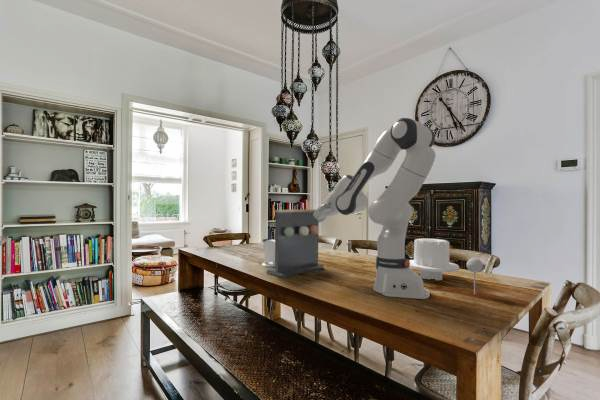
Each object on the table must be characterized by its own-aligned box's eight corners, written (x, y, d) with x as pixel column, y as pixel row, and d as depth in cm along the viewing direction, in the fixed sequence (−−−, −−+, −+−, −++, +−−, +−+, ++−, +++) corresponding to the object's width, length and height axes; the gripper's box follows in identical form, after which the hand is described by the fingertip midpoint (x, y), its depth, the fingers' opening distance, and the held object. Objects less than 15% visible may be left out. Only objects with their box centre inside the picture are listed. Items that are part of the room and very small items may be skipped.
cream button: (308, 235, 164) (308, 226, 164) (302, 235, 161) (302, 226, 161) (304, 234, 166) (304, 226, 166) (298, 235, 163) (298, 226, 163)
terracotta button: (318, 233, 172) (318, 225, 172) (313, 234, 169) (313, 225, 169) (314, 233, 174) (314, 225, 174) (309, 234, 171) (309, 225, 171)
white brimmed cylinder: (408, 270, 171) (408, 236, 171) (458, 275, 160) (458, 239, 161) (402, 280, 149) (402, 241, 149) (460, 286, 138) (460, 244, 138)
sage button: (294, 236, 158) (294, 227, 158) (287, 237, 154) (287, 227, 154) (289, 235, 160) (290, 226, 160) (283, 236, 156) (283, 227, 156)
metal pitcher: (285, 264, 184) (285, 239, 184) (274, 267, 174) (274, 241, 174) (269, 262, 190) (269, 237, 190) (257, 265, 180) (258, 239, 180)
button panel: (323, 268, 174) (324, 209, 175) (283, 277, 151) (283, 210, 151) (307, 264, 182) (308, 209, 183) (267, 273, 159) (267, 209, 159)
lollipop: (476, 297, 122) (477, 259, 122) (463, 293, 127) (463, 257, 127) (486, 295, 124) (486, 258, 125) (472, 291, 130) (472, 256, 130)
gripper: (328, 208, 144) (313, 229, 150) (348, 203, 160) (333, 222, 166) (319, 199, 146) (304, 220, 152) (339, 195, 162) (325, 214, 169)
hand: (319, 221), depth 159 cm, fingers closed
